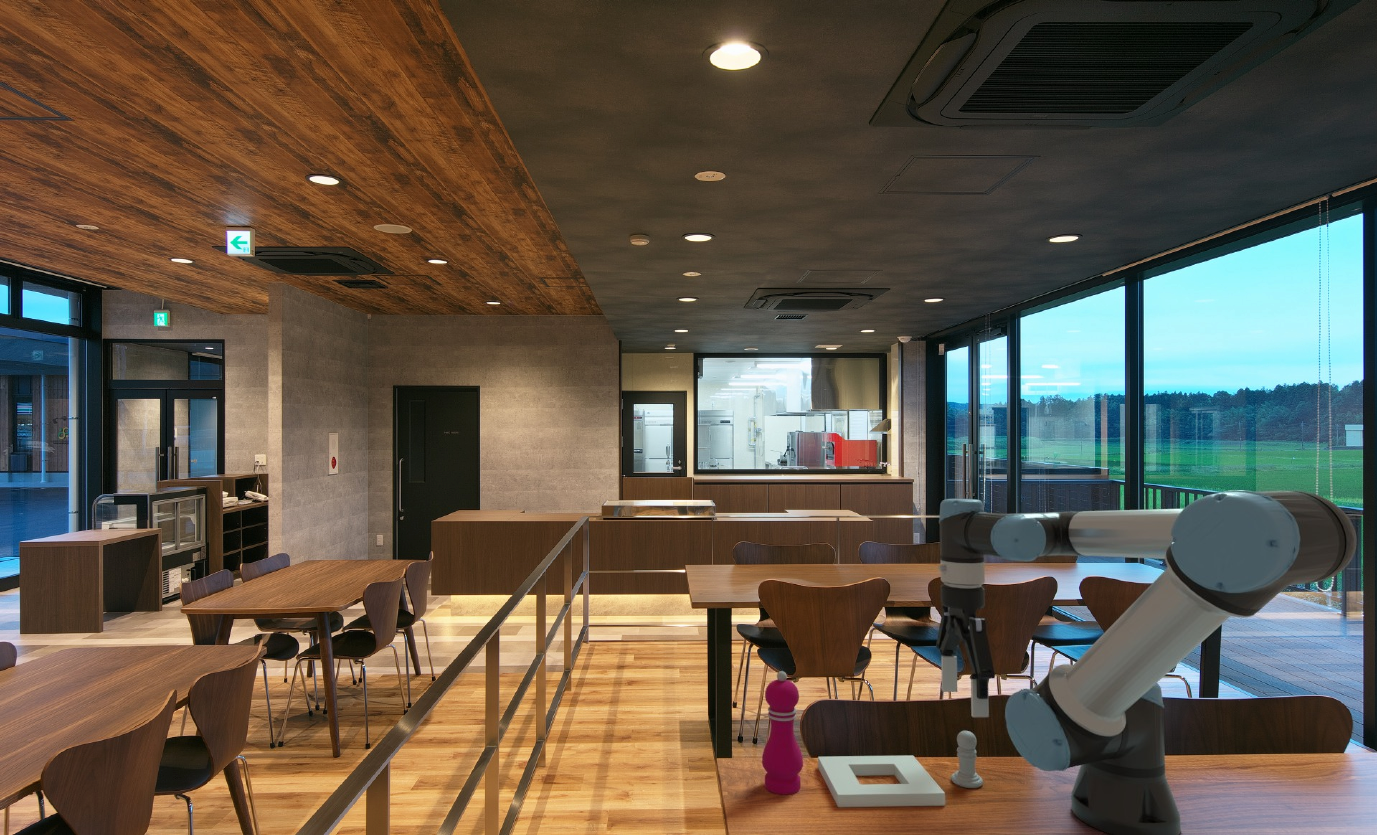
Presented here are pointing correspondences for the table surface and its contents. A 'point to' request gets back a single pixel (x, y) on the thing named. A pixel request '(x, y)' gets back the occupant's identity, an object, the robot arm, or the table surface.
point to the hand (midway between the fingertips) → (964, 703)
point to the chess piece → (966, 761)
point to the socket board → (850, 793)
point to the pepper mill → (782, 738)
